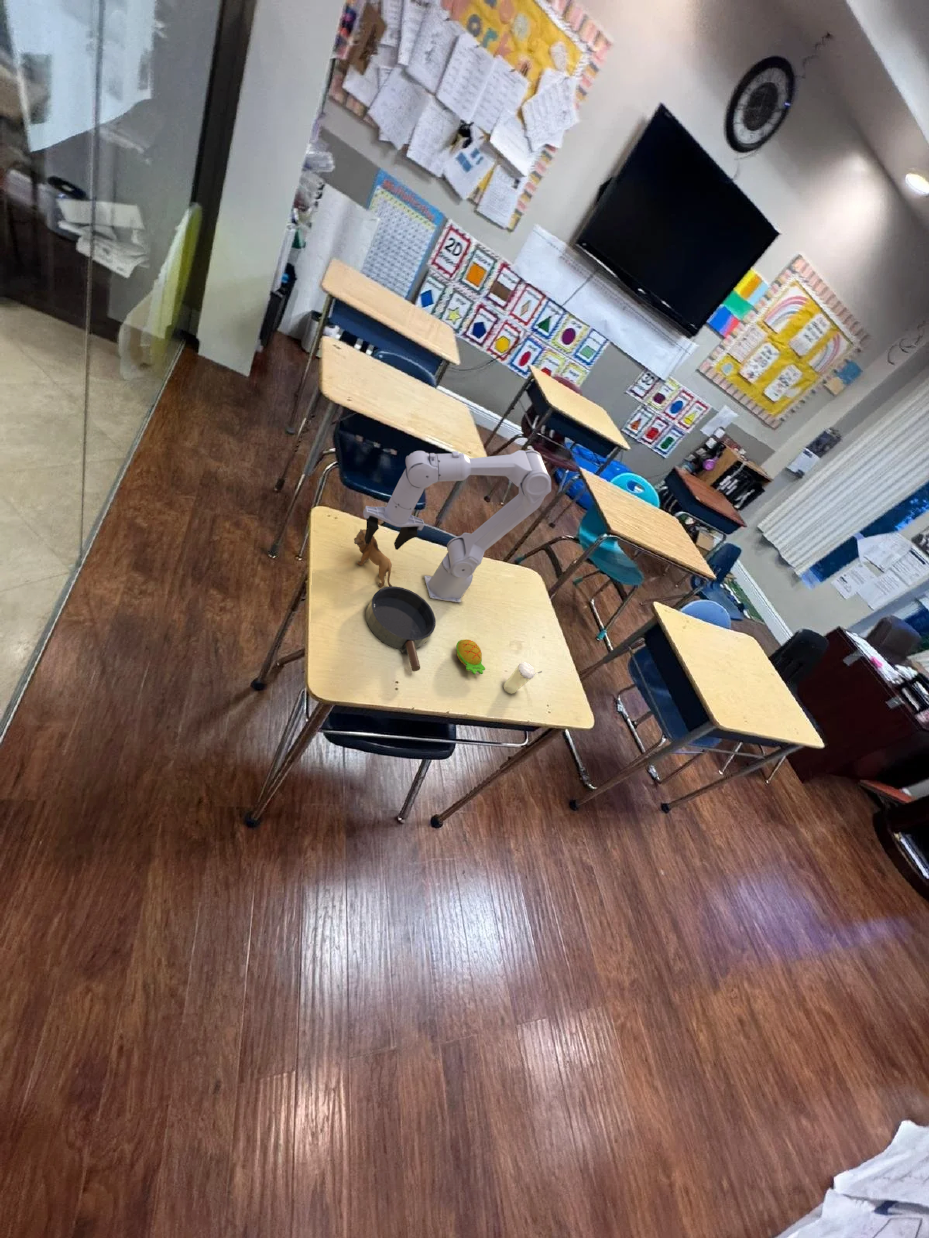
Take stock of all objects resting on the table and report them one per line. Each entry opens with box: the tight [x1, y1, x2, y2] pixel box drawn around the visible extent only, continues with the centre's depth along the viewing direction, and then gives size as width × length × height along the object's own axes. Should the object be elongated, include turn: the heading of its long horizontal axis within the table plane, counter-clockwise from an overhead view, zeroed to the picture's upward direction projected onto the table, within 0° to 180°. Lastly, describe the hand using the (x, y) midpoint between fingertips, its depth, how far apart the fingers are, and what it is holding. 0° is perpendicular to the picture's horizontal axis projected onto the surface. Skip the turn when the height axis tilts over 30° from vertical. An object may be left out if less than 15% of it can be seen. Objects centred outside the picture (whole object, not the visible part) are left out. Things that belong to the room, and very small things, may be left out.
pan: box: [365, 585, 437, 650], centre depth 122 cm, size 16×16×4 cm
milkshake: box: [503, 661, 543, 695], centre depth 124 cm, size 4×5×10 cm
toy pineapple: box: [455, 638, 486, 675], centre depth 124 cm, size 7×10×5 cm
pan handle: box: [400, 641, 421, 672], centre depth 115 cm, size 7×2×4 cm, turn 17°
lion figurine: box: [353, 528, 393, 588], centre depth 128 cm, size 15×5×9 cm, turn 59°
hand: (381, 543), depth 124 cm, fingers open, 7 cm apart
